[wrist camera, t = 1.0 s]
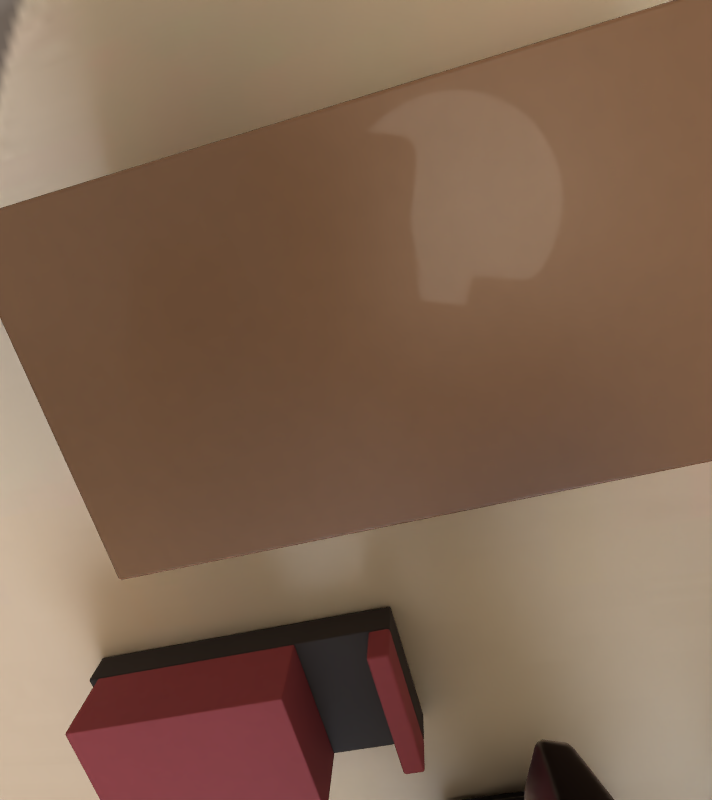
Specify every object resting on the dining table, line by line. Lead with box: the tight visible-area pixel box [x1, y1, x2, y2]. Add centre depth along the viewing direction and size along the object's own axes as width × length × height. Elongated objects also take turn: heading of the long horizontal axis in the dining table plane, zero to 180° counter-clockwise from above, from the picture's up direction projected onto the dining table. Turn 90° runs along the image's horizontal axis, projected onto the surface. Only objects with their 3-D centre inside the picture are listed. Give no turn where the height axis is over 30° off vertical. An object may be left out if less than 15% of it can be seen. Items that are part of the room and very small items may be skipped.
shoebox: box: [0, 0, 712, 580], centre depth 17 cm, size 9×16×7 cm, turn 105°
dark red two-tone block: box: [66, 607, 425, 800], centre depth 24 cm, size 5×12×4 cm, turn 105°
